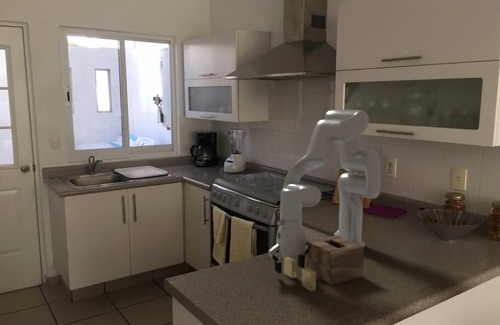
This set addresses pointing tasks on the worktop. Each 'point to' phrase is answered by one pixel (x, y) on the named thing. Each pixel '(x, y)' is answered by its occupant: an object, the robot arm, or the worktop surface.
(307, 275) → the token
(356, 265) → the box
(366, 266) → the worktop surface
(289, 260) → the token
